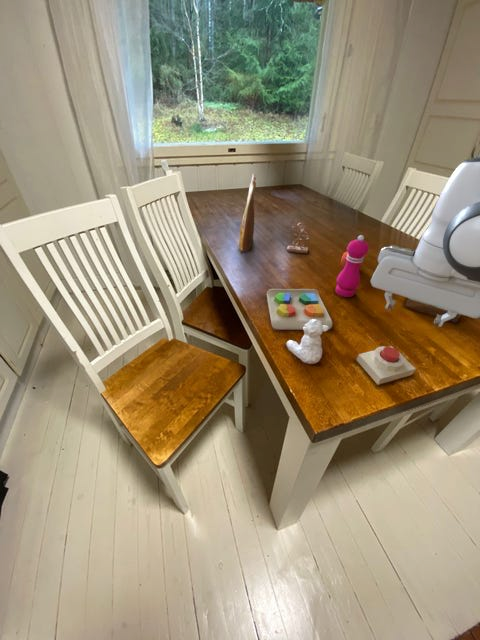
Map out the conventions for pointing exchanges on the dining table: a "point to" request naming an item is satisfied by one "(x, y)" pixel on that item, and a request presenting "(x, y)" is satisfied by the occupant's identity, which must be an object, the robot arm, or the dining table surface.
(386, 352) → the button
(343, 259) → the apple
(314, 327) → the sitting furry creature
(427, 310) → the panel
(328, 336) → the dining table surface
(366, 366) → the button block
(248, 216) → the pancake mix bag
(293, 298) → the puzzle board
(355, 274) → the pepper mill
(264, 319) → the dining table surface
